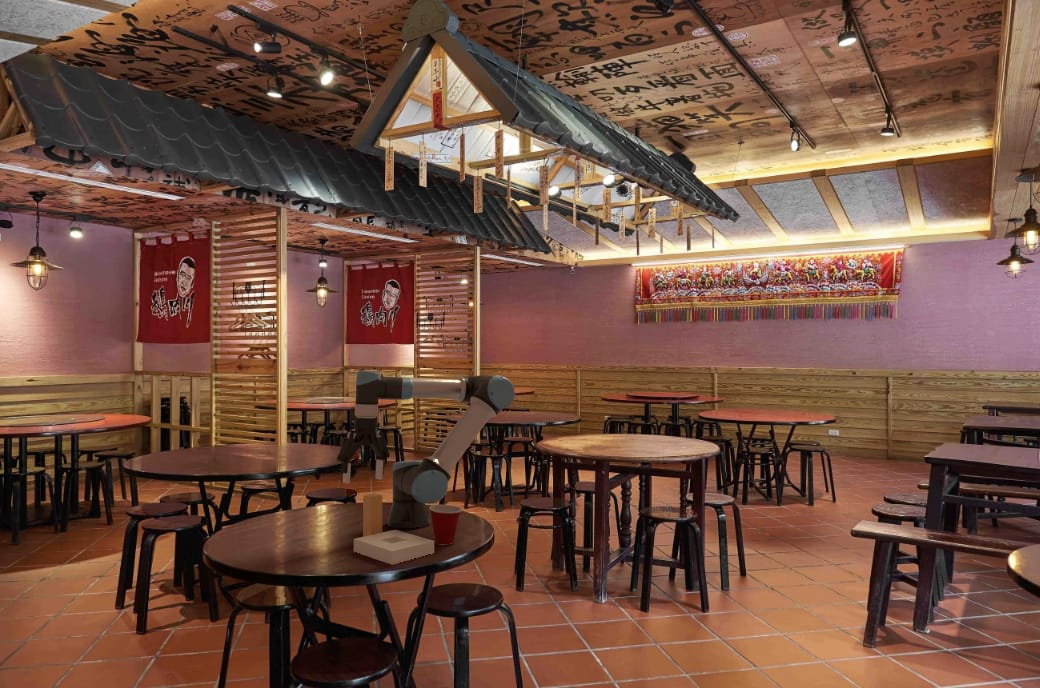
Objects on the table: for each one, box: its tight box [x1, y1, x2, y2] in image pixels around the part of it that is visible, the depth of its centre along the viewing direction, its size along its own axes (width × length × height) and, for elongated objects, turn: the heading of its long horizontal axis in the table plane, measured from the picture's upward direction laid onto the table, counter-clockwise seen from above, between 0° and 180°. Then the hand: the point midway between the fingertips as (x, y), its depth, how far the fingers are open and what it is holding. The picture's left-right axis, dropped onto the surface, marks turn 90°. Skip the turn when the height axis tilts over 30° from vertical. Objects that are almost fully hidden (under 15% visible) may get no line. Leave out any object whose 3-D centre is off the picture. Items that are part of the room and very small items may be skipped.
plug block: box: [362, 492, 383, 537], centre depth 236 cm, size 4×4×15 cm
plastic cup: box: [428, 504, 463, 545], centre depth 232 cm, size 11×11×12 cm
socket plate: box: [353, 529, 435, 566], centre depth 222 cm, size 16×20×4 cm
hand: (362, 481), depth 235 cm, fingers open, 13 cm apart
